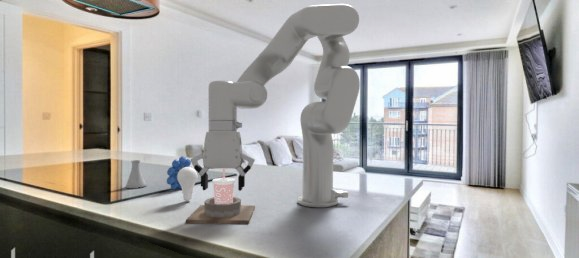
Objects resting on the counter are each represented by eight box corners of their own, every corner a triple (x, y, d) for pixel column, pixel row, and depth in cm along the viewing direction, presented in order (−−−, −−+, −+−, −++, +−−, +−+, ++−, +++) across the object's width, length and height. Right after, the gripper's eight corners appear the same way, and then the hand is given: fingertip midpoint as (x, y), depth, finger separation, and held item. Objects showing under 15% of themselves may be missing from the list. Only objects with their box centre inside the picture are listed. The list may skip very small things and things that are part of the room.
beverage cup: (207, 212, 92) (207, 161, 92) (223, 207, 97) (224, 159, 97) (223, 216, 89) (223, 163, 88) (239, 211, 94) (239, 161, 93)
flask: (127, 185, 131) (126, 159, 130) (147, 184, 133) (147, 158, 132) (123, 189, 124) (123, 162, 123) (145, 188, 126) (145, 161, 125)
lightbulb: (191, 204, 103) (191, 168, 103) (173, 203, 105) (173, 168, 104) (201, 199, 109) (200, 165, 109) (183, 198, 111) (183, 165, 110)
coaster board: (254, 208, 100) (254, 194, 100) (248, 223, 86) (248, 207, 86) (200, 207, 100) (200, 194, 100) (185, 222, 86) (185, 207, 86)
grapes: (183, 185, 132) (183, 154, 131) (196, 186, 129) (196, 155, 128) (158, 190, 122) (158, 157, 121) (172, 193, 118) (172, 158, 118)
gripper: (256, 126, 96) (255, 186, 96) (194, 126, 96) (195, 186, 96) (253, 127, 88) (252, 192, 89) (186, 127, 88) (187, 192, 89)
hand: (222, 189), depth 93 cm, fingers open, 9 cm apart
